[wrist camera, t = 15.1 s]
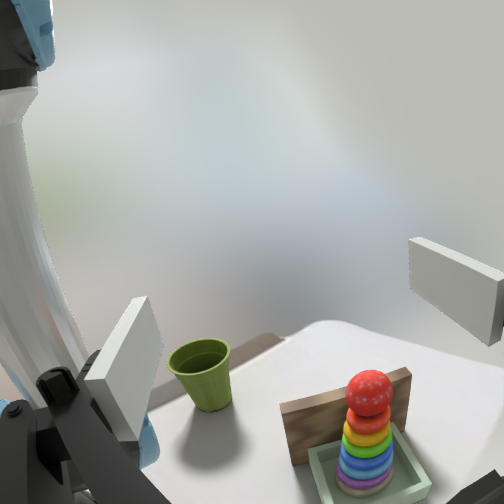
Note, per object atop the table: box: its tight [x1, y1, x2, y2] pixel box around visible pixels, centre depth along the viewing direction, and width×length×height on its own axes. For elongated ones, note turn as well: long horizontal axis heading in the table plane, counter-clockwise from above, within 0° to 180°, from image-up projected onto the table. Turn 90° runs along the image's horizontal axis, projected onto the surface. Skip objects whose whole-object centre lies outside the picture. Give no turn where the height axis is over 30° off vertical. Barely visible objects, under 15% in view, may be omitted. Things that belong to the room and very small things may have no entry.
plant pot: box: [167, 338, 232, 412], centre depth 57 cm, size 12×12×11 cm
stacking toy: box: [335, 370, 394, 497], centre depth 31 cm, size 8×8×19 cm
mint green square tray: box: [308, 422, 432, 504], centre depth 33 cm, size 13×13×4 cm
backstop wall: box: [280, 367, 412, 466], centre depth 39 cm, size 18×2×12 cm, turn 94°
